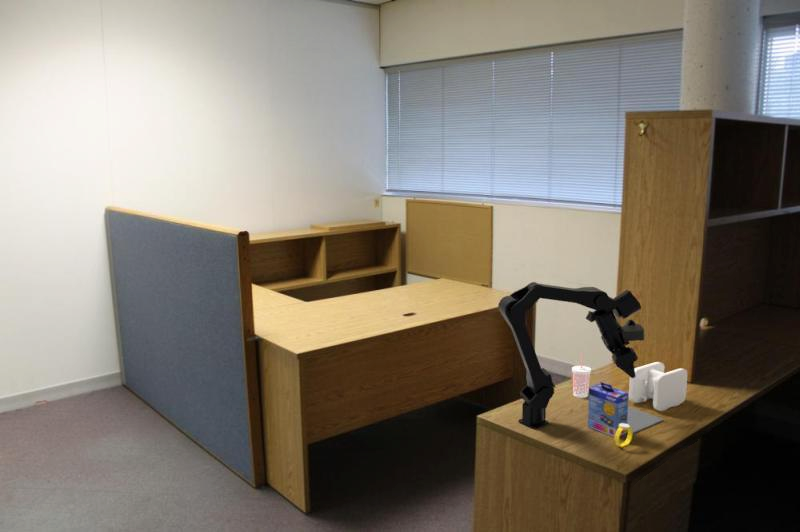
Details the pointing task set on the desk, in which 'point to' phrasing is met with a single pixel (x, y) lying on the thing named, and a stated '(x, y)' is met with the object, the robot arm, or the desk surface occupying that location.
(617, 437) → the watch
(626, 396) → the ink cartridge box
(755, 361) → the desk surface
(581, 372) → the beverage cup
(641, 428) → the mat
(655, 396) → the cable organizer
